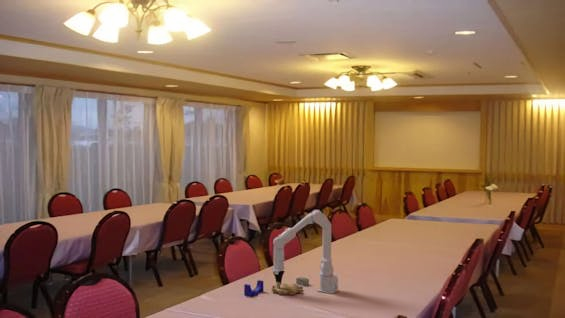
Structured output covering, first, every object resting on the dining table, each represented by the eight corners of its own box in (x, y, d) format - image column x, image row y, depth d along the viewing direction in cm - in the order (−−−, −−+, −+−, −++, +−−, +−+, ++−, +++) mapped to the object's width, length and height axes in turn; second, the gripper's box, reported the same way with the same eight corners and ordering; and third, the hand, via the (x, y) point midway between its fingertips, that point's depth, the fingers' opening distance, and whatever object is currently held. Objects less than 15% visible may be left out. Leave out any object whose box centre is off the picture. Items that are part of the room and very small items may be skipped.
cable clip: (250, 297, 290) (250, 286, 290) (244, 295, 293) (244, 284, 292) (265, 292, 299) (265, 281, 299) (259, 291, 302) (259, 280, 302)
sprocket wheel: (296, 285, 311) (296, 276, 311) (307, 293, 295) (307, 284, 295) (267, 287, 306) (267, 278, 306) (277, 295, 290) (277, 286, 290)
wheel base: (303, 290, 303) (303, 289, 303) (291, 296, 292) (291, 295, 292) (283, 286, 310) (283, 286, 310) (270, 292, 299) (270, 291, 299)
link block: (308, 285, 314) (308, 278, 314) (303, 286, 312) (303, 280, 312) (301, 283, 319) (301, 276, 319) (296, 284, 316) (296, 278, 316)
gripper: (274, 256, 308) (274, 280, 309) (268, 262, 294) (268, 287, 294) (286, 257, 307) (286, 281, 307) (281, 262, 293) (281, 288, 293)
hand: (278, 284), depth 301 cm, fingers closed
